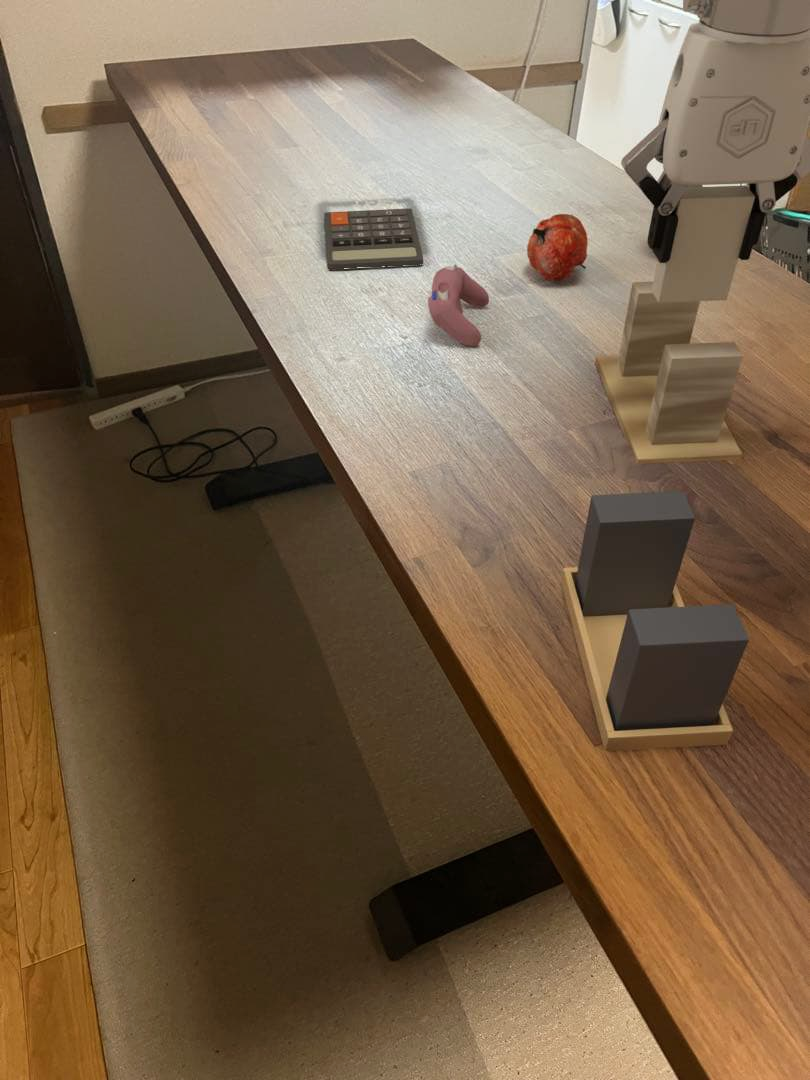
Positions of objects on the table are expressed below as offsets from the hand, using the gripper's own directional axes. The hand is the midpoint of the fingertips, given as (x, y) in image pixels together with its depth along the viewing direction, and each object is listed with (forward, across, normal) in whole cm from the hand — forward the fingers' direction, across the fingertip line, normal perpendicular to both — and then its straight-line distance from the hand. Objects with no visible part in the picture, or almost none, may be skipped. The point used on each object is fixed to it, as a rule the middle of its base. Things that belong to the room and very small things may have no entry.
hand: (699, 252), depth 72 cm
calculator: (+16, -27, +38) cm, 50 cm away
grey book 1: (+15, -10, -25) cm, 31 cm away
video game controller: (+16, -18, +17) cm, 30 cm away
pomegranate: (+16, -5, +28) cm, 33 cm away
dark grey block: (+15, -10, -35) cm, 39 cm away
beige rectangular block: (+4, 0, 0) cm, 4 cm away
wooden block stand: (+16, 0, 0) cm, 16 cm away
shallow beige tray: (+16, -10, -30) cm, 35 cm away
